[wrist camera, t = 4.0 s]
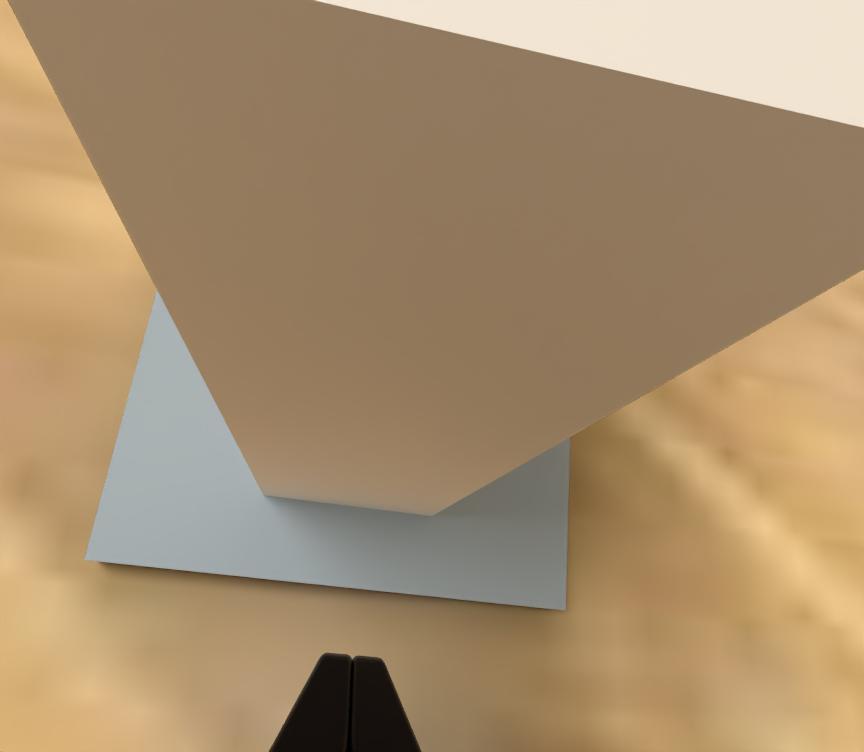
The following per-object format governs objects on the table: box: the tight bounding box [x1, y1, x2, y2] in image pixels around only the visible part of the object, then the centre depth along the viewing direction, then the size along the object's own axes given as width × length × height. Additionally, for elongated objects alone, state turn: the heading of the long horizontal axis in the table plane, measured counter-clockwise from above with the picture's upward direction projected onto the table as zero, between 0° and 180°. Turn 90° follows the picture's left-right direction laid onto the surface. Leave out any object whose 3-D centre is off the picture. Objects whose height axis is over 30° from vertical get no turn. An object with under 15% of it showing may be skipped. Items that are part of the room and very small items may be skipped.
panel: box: [8, 0, 864, 516], centre depth 11 cm, size 10×4×15 cm, turn 174°
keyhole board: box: [84, 290, 570, 611], centre depth 18 cm, size 22×12×6 cm, turn 174°
